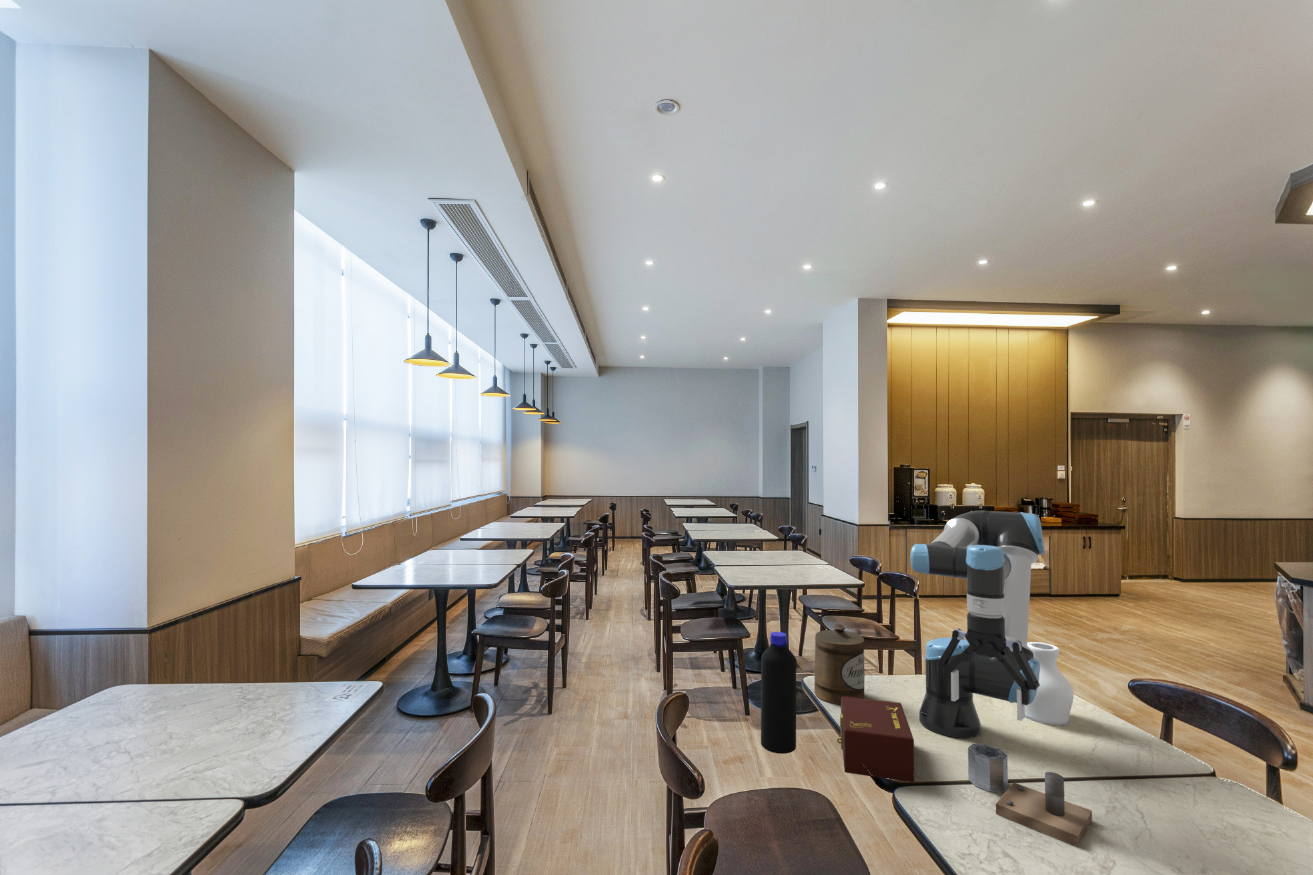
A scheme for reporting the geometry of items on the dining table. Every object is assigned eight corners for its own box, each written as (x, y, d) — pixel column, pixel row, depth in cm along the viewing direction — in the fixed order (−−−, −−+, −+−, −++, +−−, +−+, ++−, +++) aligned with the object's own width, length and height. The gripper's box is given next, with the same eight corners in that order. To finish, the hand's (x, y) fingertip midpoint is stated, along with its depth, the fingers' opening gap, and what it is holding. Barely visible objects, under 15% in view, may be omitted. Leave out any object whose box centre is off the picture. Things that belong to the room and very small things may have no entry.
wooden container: (857, 709, 169) (857, 633, 170) (808, 698, 177) (808, 625, 178) (869, 693, 181) (869, 622, 182) (822, 682, 189) (822, 615, 190)
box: (835, 732, 155) (835, 694, 155) (901, 740, 150) (901, 701, 151) (838, 772, 135) (838, 728, 135) (914, 783, 130) (914, 738, 131)
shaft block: (995, 813, 119) (995, 768, 119) (1013, 791, 127) (1013, 749, 128) (1078, 846, 109) (1077, 798, 109) (1091, 820, 117) (1090, 775, 117)
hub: (965, 782, 131) (964, 750, 131) (976, 770, 136) (975, 740, 136) (1000, 795, 125) (1000, 762, 126) (1010, 783, 130) (1010, 751, 131)
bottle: (775, 757, 141) (776, 641, 142) (753, 741, 149) (754, 631, 150) (803, 749, 145) (803, 636, 146) (780, 734, 153) (780, 627, 154)
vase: (1072, 713, 168) (1070, 643, 169) (1076, 732, 156) (1074, 657, 157) (1014, 701, 176) (1013, 635, 177) (1014, 718, 164) (1013, 647, 165)
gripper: (923, 606, 139) (923, 696, 138) (1045, 628, 120) (1046, 732, 119) (935, 601, 144) (936, 688, 143) (1054, 622, 126) (1056, 722, 125)
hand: (986, 708), depth 131 cm, fingers open, 13 cm apart
